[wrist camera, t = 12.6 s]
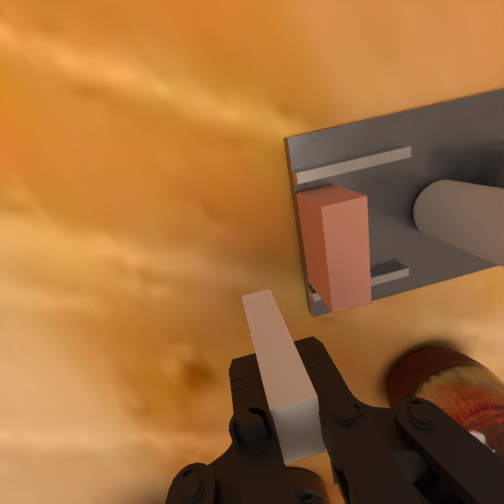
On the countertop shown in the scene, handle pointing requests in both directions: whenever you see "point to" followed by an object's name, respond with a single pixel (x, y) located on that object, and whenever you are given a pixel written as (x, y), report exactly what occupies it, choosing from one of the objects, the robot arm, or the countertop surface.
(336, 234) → the block
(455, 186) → the beverage can
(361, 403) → the robot arm
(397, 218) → the grey vise base
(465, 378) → the vase
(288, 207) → the countertop surface
